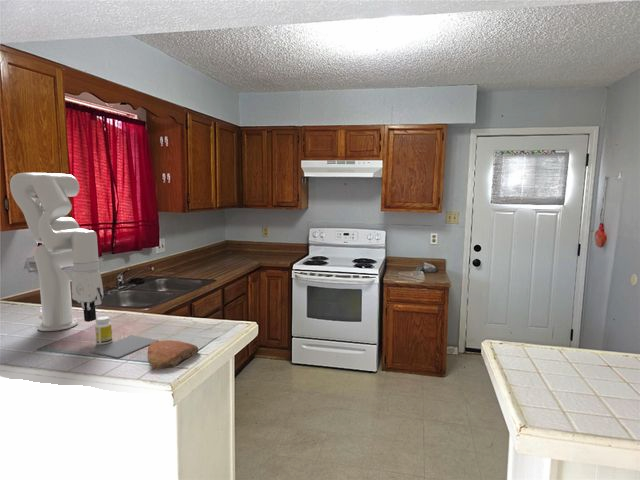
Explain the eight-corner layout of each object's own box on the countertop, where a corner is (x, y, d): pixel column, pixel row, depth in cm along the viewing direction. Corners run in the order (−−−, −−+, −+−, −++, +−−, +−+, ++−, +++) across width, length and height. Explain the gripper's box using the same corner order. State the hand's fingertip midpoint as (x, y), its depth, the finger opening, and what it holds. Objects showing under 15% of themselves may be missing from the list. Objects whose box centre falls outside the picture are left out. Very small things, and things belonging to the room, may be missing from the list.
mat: (89, 352, 131) (89, 350, 131) (131, 336, 145) (131, 335, 145) (118, 358, 126) (118, 357, 126) (158, 341, 140) (158, 340, 140)
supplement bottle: (115, 340, 142) (113, 316, 141) (106, 345, 137) (105, 320, 136) (102, 339, 142) (100, 315, 141) (93, 344, 138) (91, 320, 137)
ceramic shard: (125, 349, 120) (159, 339, 134) (126, 371, 119) (160, 359, 134) (169, 347, 116) (199, 337, 130) (171, 370, 116) (200, 358, 130)
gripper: (60, 267, 139) (65, 321, 141) (91, 270, 133) (95, 326, 135) (81, 264, 146) (85, 315, 148) (111, 266, 140) (115, 319, 142)
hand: (90, 320), depth 141 cm, fingers closed
